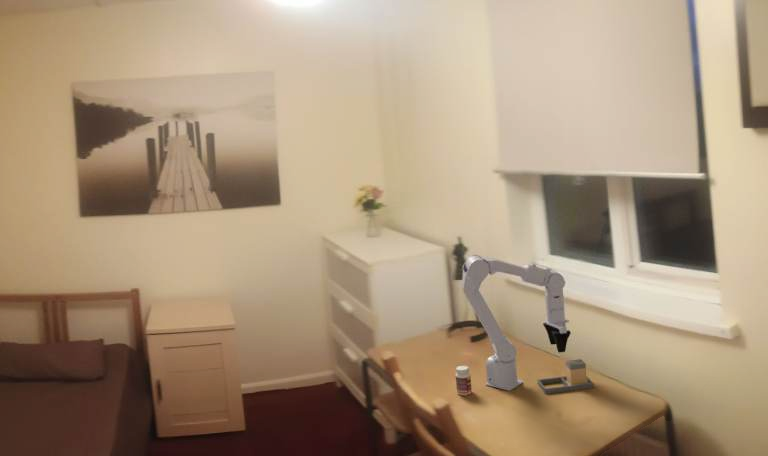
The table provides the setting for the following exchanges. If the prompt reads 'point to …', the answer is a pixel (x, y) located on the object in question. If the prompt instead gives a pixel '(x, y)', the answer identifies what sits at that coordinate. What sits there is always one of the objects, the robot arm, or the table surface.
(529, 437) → the table surface
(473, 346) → the table surface
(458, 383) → the pill bottle
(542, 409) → the table surface
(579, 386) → the gray divided rectangular frame
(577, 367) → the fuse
